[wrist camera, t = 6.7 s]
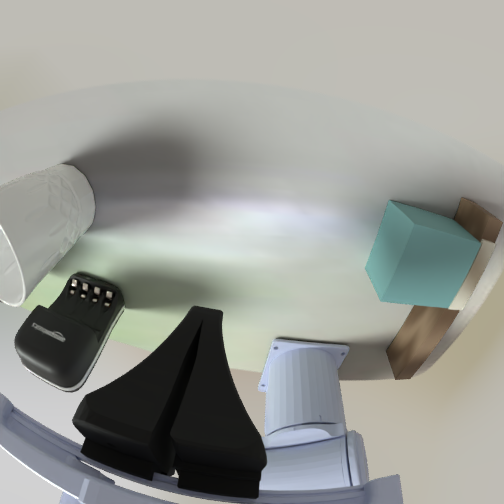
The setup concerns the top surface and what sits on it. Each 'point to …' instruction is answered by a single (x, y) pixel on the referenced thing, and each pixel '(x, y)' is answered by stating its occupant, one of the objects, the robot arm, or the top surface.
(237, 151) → the top surface
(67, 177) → the white cup
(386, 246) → the teal block
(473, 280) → the walnut board
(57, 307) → the battery charger
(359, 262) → the top surface
